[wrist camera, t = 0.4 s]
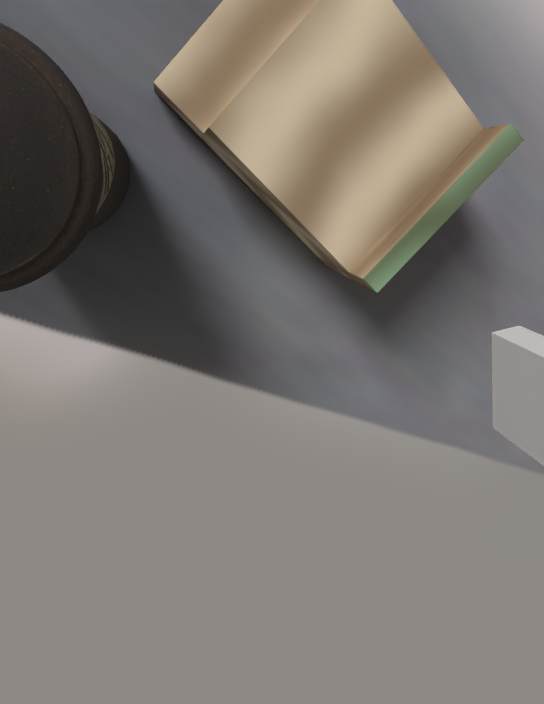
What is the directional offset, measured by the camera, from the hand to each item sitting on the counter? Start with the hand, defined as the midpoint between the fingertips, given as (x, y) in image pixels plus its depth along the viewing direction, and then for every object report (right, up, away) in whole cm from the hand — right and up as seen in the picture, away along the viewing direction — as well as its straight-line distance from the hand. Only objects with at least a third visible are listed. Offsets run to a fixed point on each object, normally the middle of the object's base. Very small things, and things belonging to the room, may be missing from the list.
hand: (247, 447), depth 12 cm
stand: (+3, +18, +24) cm, 30 cm away
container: (-13, +14, +22) cm, 29 cm away
